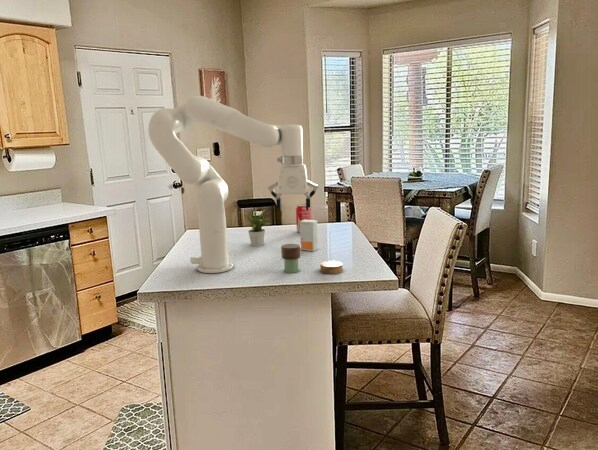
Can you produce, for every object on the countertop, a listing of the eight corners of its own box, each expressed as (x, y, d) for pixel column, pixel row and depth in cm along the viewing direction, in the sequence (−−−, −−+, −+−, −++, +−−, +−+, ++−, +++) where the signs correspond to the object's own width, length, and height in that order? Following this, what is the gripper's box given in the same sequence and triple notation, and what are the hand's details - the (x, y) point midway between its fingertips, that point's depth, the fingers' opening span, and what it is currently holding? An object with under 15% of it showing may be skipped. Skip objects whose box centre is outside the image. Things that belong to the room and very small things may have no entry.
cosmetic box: (300, 250, 207) (299, 221, 205) (305, 247, 211) (304, 219, 209) (313, 251, 204) (313, 222, 202) (318, 249, 208) (317, 220, 206)
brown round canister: (280, 259, 175) (279, 248, 174) (282, 254, 181) (282, 243, 181) (299, 259, 174) (299, 248, 174) (301, 254, 181) (300, 243, 180)
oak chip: (319, 274, 174) (319, 267, 174) (321, 267, 182) (321, 261, 181) (342, 274, 173) (342, 267, 173) (342, 267, 181) (342, 260, 180)
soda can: (314, 230, 242) (313, 203, 240) (306, 233, 237) (305, 206, 234) (301, 229, 246) (301, 203, 244) (293, 232, 240) (292, 205, 238)
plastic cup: (283, 272, 177) (283, 259, 176) (285, 268, 182) (285, 255, 181) (297, 272, 176) (297, 258, 175) (298, 268, 181) (298, 255, 180)
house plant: (241, 250, 209) (238, 211, 206) (235, 243, 222) (233, 206, 219) (274, 247, 213) (273, 208, 210) (267, 240, 226) (265, 203, 223)
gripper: (265, 162, 173) (267, 212, 176) (316, 161, 171) (317, 211, 175) (268, 160, 180) (270, 208, 184) (317, 159, 179) (318, 207, 182)
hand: (293, 209), depth 179 cm, fingers open, 9 cm apart
